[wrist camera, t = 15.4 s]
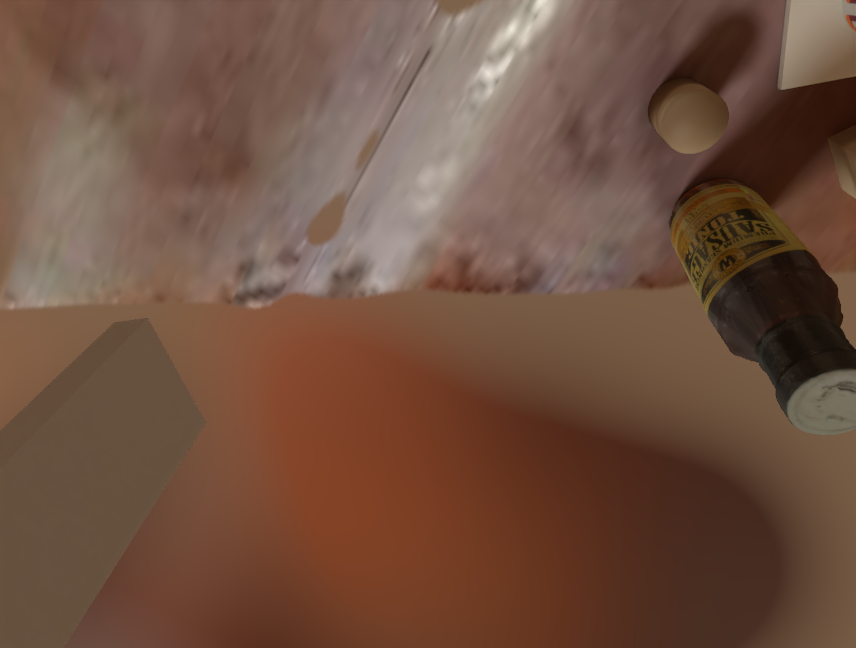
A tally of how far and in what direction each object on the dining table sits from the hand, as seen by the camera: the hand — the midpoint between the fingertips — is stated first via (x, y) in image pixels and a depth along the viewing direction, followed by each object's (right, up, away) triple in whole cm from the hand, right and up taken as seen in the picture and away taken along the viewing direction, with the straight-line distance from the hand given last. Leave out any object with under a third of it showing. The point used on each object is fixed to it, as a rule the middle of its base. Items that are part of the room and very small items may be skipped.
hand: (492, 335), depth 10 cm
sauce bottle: (+19, +8, +31) cm, 37 cm away
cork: (+15, +14, +27) cm, 34 cm away
